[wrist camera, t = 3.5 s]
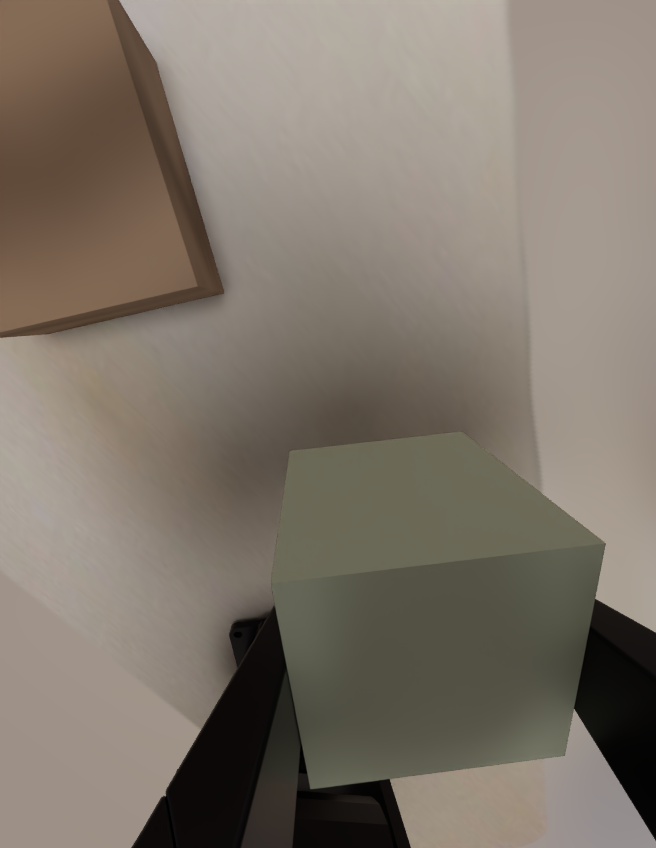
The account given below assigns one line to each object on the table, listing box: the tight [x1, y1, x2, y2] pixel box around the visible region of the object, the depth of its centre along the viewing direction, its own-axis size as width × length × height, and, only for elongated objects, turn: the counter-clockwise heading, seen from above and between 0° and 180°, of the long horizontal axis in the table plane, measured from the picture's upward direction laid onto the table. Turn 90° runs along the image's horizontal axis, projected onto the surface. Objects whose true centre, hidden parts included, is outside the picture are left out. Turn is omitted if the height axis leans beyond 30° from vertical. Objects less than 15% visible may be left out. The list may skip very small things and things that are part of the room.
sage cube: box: [271, 431, 606, 789], centre depth 8 cm, size 5×5×5 cm
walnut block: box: [0, 0, 224, 338], centre depth 12 cm, size 8×8×4 cm
